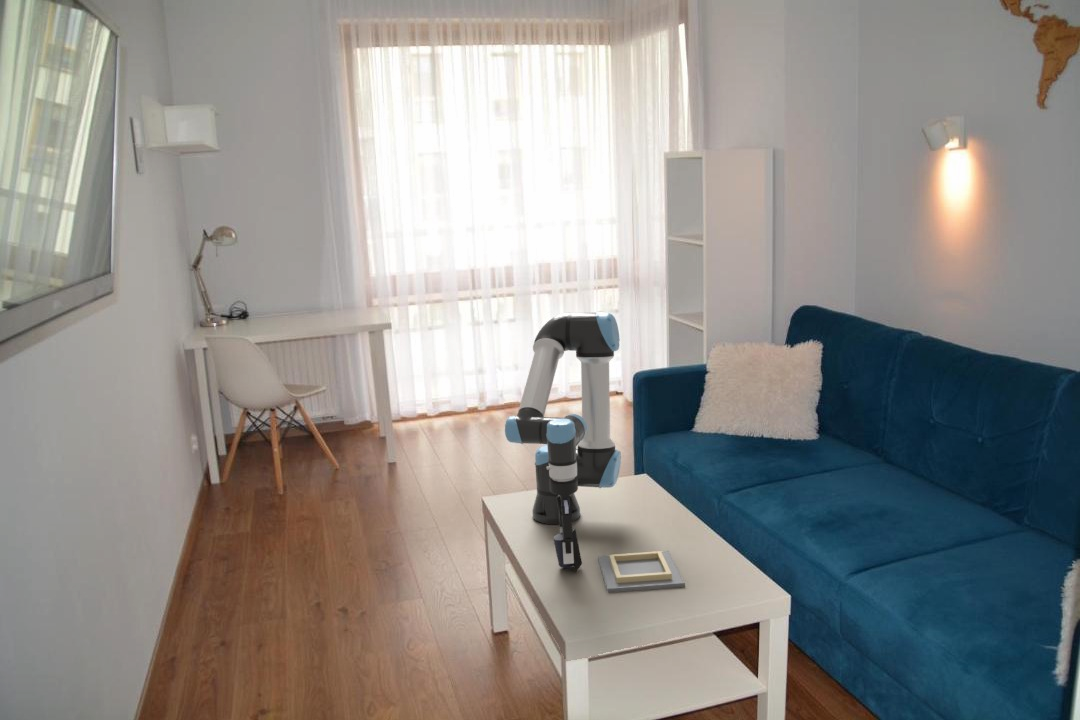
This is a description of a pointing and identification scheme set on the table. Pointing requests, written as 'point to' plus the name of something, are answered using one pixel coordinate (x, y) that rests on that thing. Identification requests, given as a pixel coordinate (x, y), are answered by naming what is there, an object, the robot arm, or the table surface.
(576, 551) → the speaker
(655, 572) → the mount board
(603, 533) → the table surface
